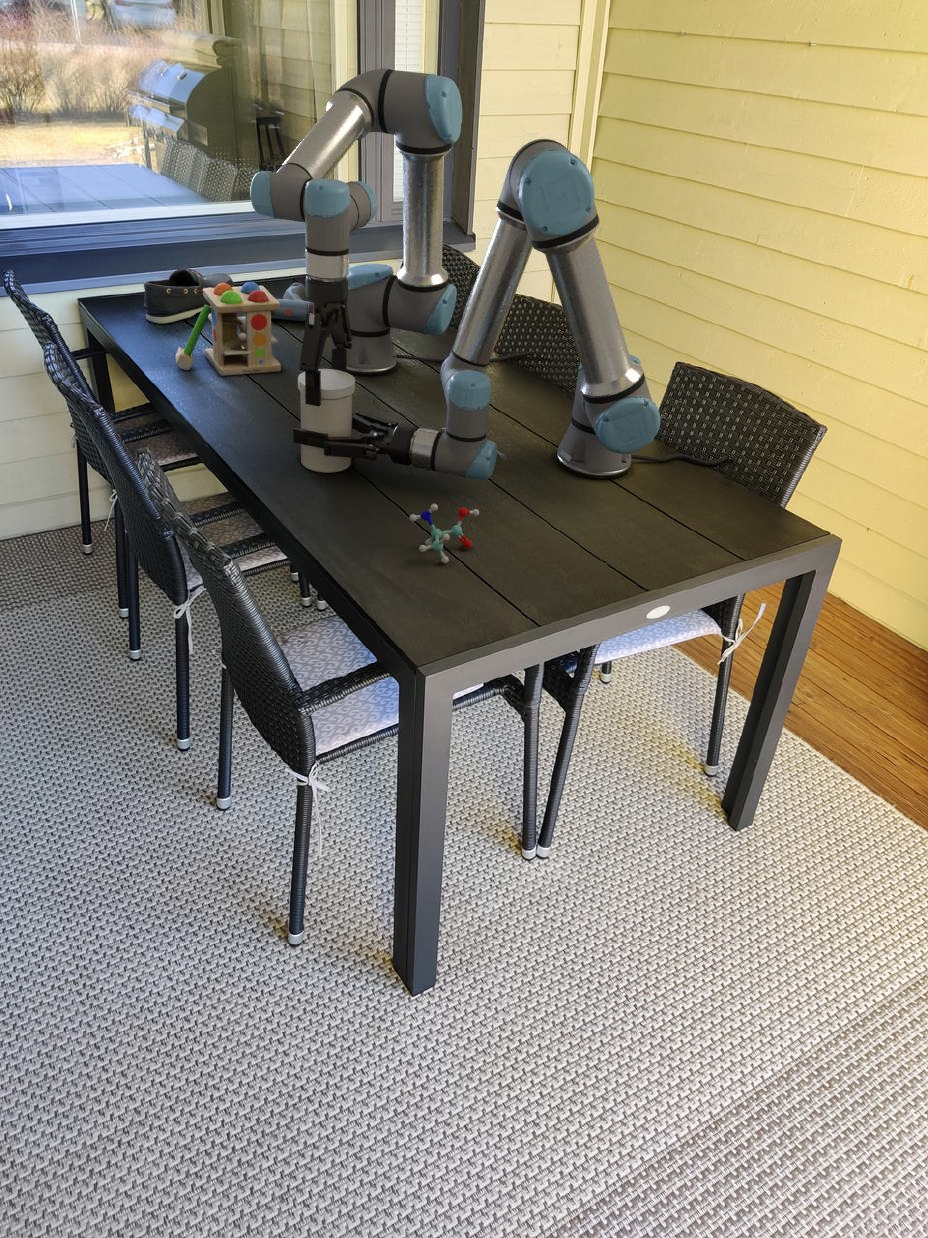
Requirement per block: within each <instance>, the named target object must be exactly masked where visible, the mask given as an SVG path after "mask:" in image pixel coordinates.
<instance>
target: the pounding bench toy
mask: <svg viewBox="0 0 928 1238" xmlns="http://www.w3.org/2000/svg"><path fill="white" fill-rule="evenodd" d="M203 296H204V297H205V299H206V300H207V301H208V302H209V304H210V305H211V307H210V306H208V305H204V307H203V309H202V311H200V313H199V316H198V318H197V320H196V322H195V324H194V327H193V329H192V331H191V332H190V333H191V334H190V336H189V338H188V340H187V343H186V344H185V347H184V348H182V347H180V346H179V347H178V349H177V351H176V354H175V357H174V358H175V362H176V365H177V366H178V368H179V369H182V370H185V371H189V370H190V369H191V367H192V365H193V363H194V356H193V351H194V348H195V347H196V345H197V342H198V340H199V337H200V336H201V333H202V332H203V329H204V326H205V325H206V322H207V320H209V321H210V322H211V336H212V337H211V338H212V339H211V340H212V348H205V349H204V352H205V353H204V355H205V357H206V359H208V361H209V363H210V364H211V365H212V366H213V367H214V369H215V370H216V371H217V372H218V374H219V375H220V376H222V377H223V376H234V375H235V376H236V375H246V374H247V375H250V374H262V373H275V372H281V370H282V364H281V363H280V362H279V360H278V359H277V358H276V357H275V356H274V355H273V348H272V347H273V345H272V344H276V343H278V342H279V341H278V339H277V338H276V337H275V336H274V334H272V318H271V310H280V303H279V302H278V301H277V300H276V299H277V298H276V297H274V296H273V295H272V294H271V293H270V292H269V290H268V289H267V288H266V287H264V285H259V284H257V283H256V282H255V281H247V282H245V283H244V284H243V285H242V286H234V287H231V286H230V285H228V284H226V283H221V284H218V285H217V286H216V287H215V288H204V289H203ZM238 313H244V314H245V315H244V316H238ZM238 329H239V331H240V333H239V334H238Z"/></svg>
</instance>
